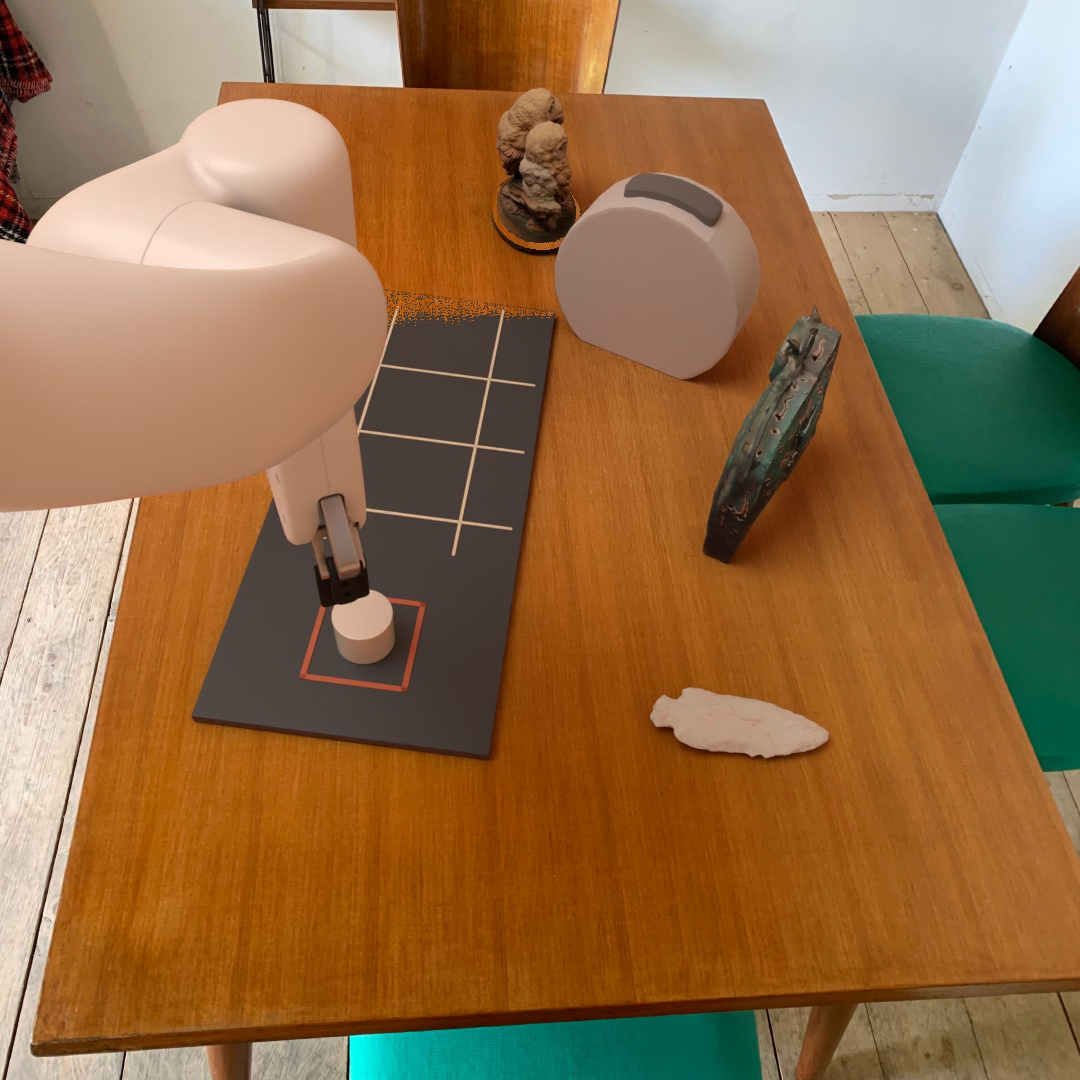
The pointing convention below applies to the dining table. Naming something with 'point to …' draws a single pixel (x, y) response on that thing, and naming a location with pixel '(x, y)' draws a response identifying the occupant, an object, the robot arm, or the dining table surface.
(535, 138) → the owl figurine
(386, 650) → the white cylinder
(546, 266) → the dining table surface
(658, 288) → the alarm clock
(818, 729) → the stone tool
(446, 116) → the dining table surface
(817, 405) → the ceramic cat
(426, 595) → the board
